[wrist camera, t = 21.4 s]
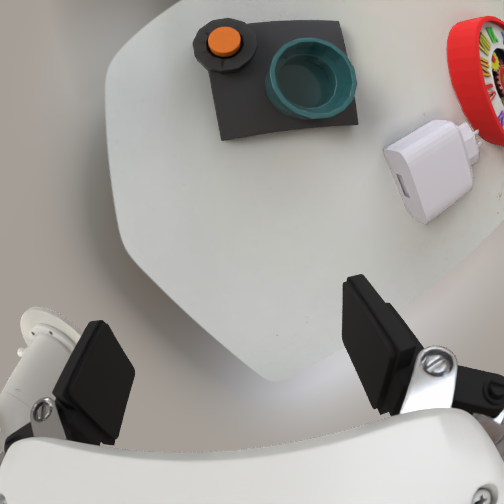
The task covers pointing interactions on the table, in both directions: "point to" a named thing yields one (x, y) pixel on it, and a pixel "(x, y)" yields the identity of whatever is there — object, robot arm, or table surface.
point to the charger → (433, 167)
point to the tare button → (224, 41)
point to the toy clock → (479, 74)
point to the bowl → (310, 79)
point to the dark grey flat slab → (260, 75)
